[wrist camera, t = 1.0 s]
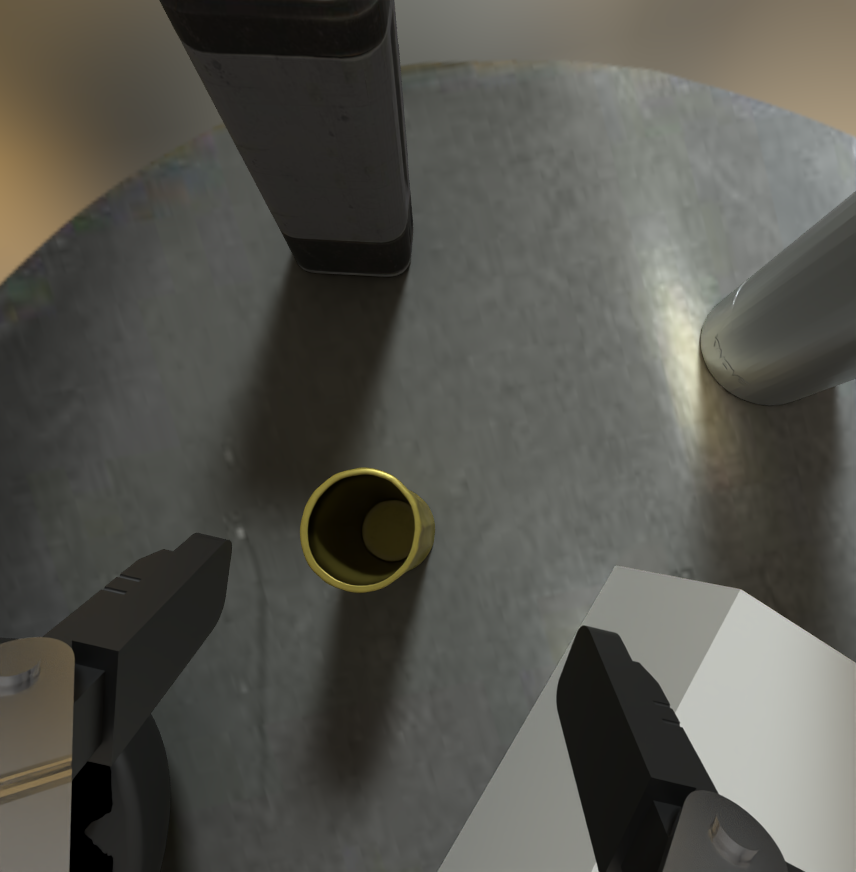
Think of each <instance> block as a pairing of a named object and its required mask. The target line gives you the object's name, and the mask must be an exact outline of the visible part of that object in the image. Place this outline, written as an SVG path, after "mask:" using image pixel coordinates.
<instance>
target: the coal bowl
mask: <svg viewBox="0 0 856 872" xmlns="http://www.w3.org/2000/svg"><path fill="white" fill-rule="evenodd" d="M12 640H17V639H13V638H0V644H2V643H5V642H8V641H12ZM170 802H171V798H170V777H169V769H168V761H167V757H166V752H165V748H164V744H163V741H162V738H161V735H160V732H159V730H158V727H157V725H156V723H155V720H154V718H153V717H152V715H151V714H150V715H149V716H148V718H147V719H146V720H145V722H144V723H143V724H142V726H141V727H140V728H139V730H138V731H137V733H136V734H135V735H134V737H133V738H132V739H131V741H130V742H129V743H128V745H127V746H126V747H125V749H124V750H123V751H122V753H121V754H120V755H119V757H118V758H117V759H116V761H115V762H114V763H113V765H112V766H107V765H103V764H98V763H94V762H90V761H87V762H86V764H85V765H84V766H83V767H82V769H81V770H80V771H79V772H78V773H77V775H76V776H75V777H74V778H73V780H72V787H71V824H70V862H69V872H160V870H161V866H162V861H163V857H164V852H165V848H166V841H167V834H168V827H169V820H170Z"/></svg>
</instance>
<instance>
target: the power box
mask: <svg viewBox="0 0 856 872" xmlns="http://www.w3.org/2000/svg"><path fill="white" fill-rule="evenodd" d="M583 625H585V626H590V627H594V628H598V629H602V630H606V631H611V632H615V633H617V634H618V635H619V636H620V637H621V639H622V641H623V643H624V645H625V647H626V649H627V651H628V653H629V655H630V657H631V659H632V661H636V662H639V663H640V664H641V665H642V666H643V667H644V668H645V669H646V670H647V671H648V672H649V673H650V674H651V675H652V677H653V678H654V679H655V680H656V681H657V682H658V683H659V685H660V687H661V689H662V690H663V692H664V694H665V696H666V698H667V700H668V701H669V703H670V708H671V709H673V711H674V712H675V714H676V716H677V718H678V720H679V722H680V727H683V729H684V731H685V733H686V734H687V736H688V738H689V740H690V742H691V744H692V745H693V747H694V749H695V751H696V753H697V755H698V756H699V758H700V760H701V762H702V764H703V766H704V767H705V769H706V771H707V773H708V775H709V777H710V778H711V780H712V782H713V784H714V786H715V788H716V790H717V791H718V793H719V795H722V796H724V797H726V798H728V799H730V800H731V801H733V802H734V803H736V804H737V805H739V806H740V807H742V808H743V809H744V810H746V811H747V812H748V813H749V814H750V815H752V816H753V817H754V818H755V819H756V820H757V821H758V822H759V823H760V824H761V825H762V826H763V827H764V828H765V830H766V831H767V832H768V833H769V834H770V836H771V837H772V838H773V840H774V841H775V843H776V844H777V846H778V847H779V849H780V851H781V853H782V855H783V857H784V859H785V861H786V862H788V863H790V864H791V865H793V866H795V867H797V868H799V869H801V870H803V871H805V872H856V663H855V662H854V661H852V660H850V659H849V658H847V657H846V656H844V655H843V654H841V653H840V652H838V651H836V650H835V649H833V648H832V647H830V646H829V645H827V644H825V643H824V642H822V641H821V640H819V639H818V638H816V637H815V636H813V635H811V634H810V633H808V632H807V631H805V630H804V629H802V628H800V627H799V626H797V625H796V624H794V623H793V622H791V621H790V620H788V619H786V618H785V617H783V616H782V615H780V614H779V613H777V612H776V611H774V610H772V609H771V608H769V607H768V606H766V605H765V604H763V603H761V602H760V601H758V600H757V599H755V598H754V597H752V596H751V595H749V594H747V593H746V592H744V591H743V590H741V589H737V588H732V587H727V586H721V585H716V584H711V583H706V582H700V581H695V580H690V579H684V578H679V577H674V576H669V575H663V574H658V573H653V572H648V571H642V570H637V569H632V568H627V567H621V566H616V565H615V567H614V569H613V570H612V572H611V574H610V576H609V577H608V579H607V581H606V582H605V584H604V586H603V588H602V589H601V591H600V593H599V594H598V596H597V598H596V600H595V601H594V603H593V605H592V607H591V608H590V610H589V612H588V613H587V615H586V617H585V619H584V620H583V622H582V624H581V625H580V627H581V626H583ZM580 627H579V628H580ZM576 633H577V632H576ZM575 636H576V634H575ZM575 636H574V638H573V639H572V641H571V643H570V644H569V646H568V648H567V650H566V651H565V653H564V655H563V656H562V658H561V660H560V662H559V663H558V665H557V667H556V668H555V670H554V672H553V674H552V675H551V677H550V679H549V681H548V682H547V684H546V686H545V687H544V689H543V691H542V693H541V694H540V696H539V698H538V699H537V701H536V703H535V705H534V706H533V708H532V710H531V712H530V713H529V715H528V717H527V718H526V720H525V722H524V724H523V725H522V727H521V729H520V730H519V732H518V734H517V736H516V737H515V739H514V741H513V742H512V744H511V746H510V748H509V749H508V751H507V753H506V755H505V756H504V758H503V760H502V761H501V763H500V765H499V767H498V768H497V770H496V772H495V773H494V775H493V777H492V779H491V780H490V782H489V784H488V786H487V787H486V789H485V791H484V792H483V794H482V796H481V798H480V799H479V801H478V803H477V804H476V806H475V808H474V810H473V811H472V813H471V815H470V816H469V818H468V820H467V822H466V823H465V825H464V827H463V829H462V830H461V832H460V834H459V835H458V837H457V839H456V841H455V842H454V844H453V846H452V847H451V849H450V851H449V853H448V854H447V856H446V858H445V860H444V861H443V863H442V865H441V866H440V868H439V870H438V872H599V871H598V867H597V863H596V859H595V855H594V851H593V848H592V844H591V840H590V836H589V832H588V828H587V824H586V820H585V816H584V813H583V809H582V805H581V801H580V797H579V793H578V789H577V785H576V781H575V778H574V774H573V770H572V766H571V762H570V758H569V754H568V750H567V746H566V743H565V739H564V735H563V731H562V727H561V723H560V719H559V715H558V711H557V704H556V694H557V686H558V681H559V678H560V675H561V673H562V670H563V668H564V665H565V662H566V660H567V657H568V654H569V652H570V649H571V646H572V644H573V641H574V639H575Z"/></svg>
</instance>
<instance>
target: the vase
mask: <svg viewBox="0 0 856 872" xmlns="http://www.w3.org/2000/svg"><path fill="white" fill-rule="evenodd" d="M434 535H435V523H434V518H433V515H432V513H431V510H430V508H429V506H428V505H427V504H426V503H425V501H423V500H422V499H421V498H420V497H419V496H418V495H417V494H415V493H414V492H412V491H409V490H408V489H407V488H406V487H405V486H404V485H403V484H402V483H401V482H400V481H399V480H398V479H397V478H395V477H394V476H392V475H391V474H389V473H386V472H384V471H381V470H377V469H373V468H356V469H351V470H347V471H343V472H339V473H337V474H335V475H333V476H332V477H330V478H329V479H328V480H326V481H325V482H324V483H323V484H322V485H321V486H319V487H318V488H317V489H316V490H315V491H314V492H313V494H312V495H311V497H310V498H309V500H308V502H307V504H306V506H305V509H304V513H303V516H302V521H301V525H300V539H301V545H302V550H303V553H304V556H305V558H306V561H307V563H308V565H309V566H310V568H311V569H312V570H313V571H314V572H315V573H316V574H317V575H318V576H319V577H320V578H321V579H322V580H323V581H325V582H326V583H328V584H329V585H331V586H334V587H336V588H339V589H342V590H345V591H348V592H353V593H365V592H371V591H376V590H379V589H382V588H384V587H386V586H388V585H389V584H391V583H392V582H394V581H395V580H396V579H398V578H399V577H400V576H402V575H403V574H404V573H405V572H407V571H409V570H412V569H413V568H415V567H416V566H418V565H419V564H420V563H421V562H422V561H423V560H424V559H425V558H426V556H427V555H428V553H429V552H430V550H431V548H432V545H433V542H434Z"/></svg>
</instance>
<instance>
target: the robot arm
mask: <svg viewBox="0 0 856 872" xmlns="http://www.w3.org/2000/svg"><path fill="white" fill-rule="evenodd" d="M701 350H702V354H703V357H704V361H705V363H706V365H707V367H708V369H709V371H710V373H711V374H712V375H713V376H714V378H715V379H716V380H717V381H718V383H719V384H720V385H722V386H723V387H724V388H725V389H726V390H727V391H729V392H730V393H732V394H734V395H735V396H737V397H739V398H741V399H743V400H746V401H749V402H752V403H755V404H762V405H782V404H785V403H789V402H793V401H796V400H798V399H801V398H804V397H807V396H809V395H812V394H815V393H817V392H820V391H823V390H826V389H828V388H831V387H834V386H837V385H840V384H843V383H845V382H848V381H851V380H853V379H856V191H855V192H854V193H853V194H852V195H850V196H849V197H848V198H847V199H845V200H844V201H843V202H842V203H841V204H839V205H838V206H837V207H836V208H834V209H833V210H832V211H831V212H830V213H828V214H827V215H826V216H825V217H823V218H822V219H821V220H820V221H819V222H817V223H816V224H815V225H814V226H812V227H811V228H810V229H809V230H807V231H806V232H805V233H804V234H803V235H801V236H800V237H799V238H798V239H796V240H795V241H794V242H793V243H792V244H790V245H789V246H788V247H787V248H785V249H784V250H783V251H782V252H781V253H779V254H778V255H777V256H776V257H774V258H773V259H772V260H771V261H770V262H768V263H767V264H766V265H765V266H763V267H762V268H761V269H760V270H759V271H757V272H756V273H755V274H754V275H752V276H751V277H750V278H748V279H747V280H746V281H745V282H744V283H742V284H741V285H740V286H739V287H738V288H736V289H735V290H734V291H733V292H732V293H730V294H729V295H728V296H727V297H725V298H724V299H723V300H722V301H721V302H719V303H718V304H717V305H716V306H715V307H714V308H713V309H712V310H711V312H710V313H709V314H708V316H707V318H706V320H705V322H704V324H703V328H702V333H701ZM231 553H232V543H231V541H230V540H226V539H222V538H217V537H213V536H209V535H205V534H200V533H195V534H193V535H192V536H190V537H189V538H188V539H187V540H186V541H185V542H184V543H182V544H181V545H180V546H179V547H178V548H177V549H176V550H174V551H169V550H165V549H163V550H160V551H158V552H155V553H153V554H151V555H148V556H146V557H143V558H141V559H139V560H137V561H136V562H135V563H134V564H132V565H131V566H130V567H129V568H127V569H126V570H125V571H124V572H122V573H121V574H120V577H116V578H115V579H114V580H112V581H111V582H110V583H109V584H108V585H106V586H105V588H104V590H100V591H99V592H98V593H96V594H95V595H94V596H93V597H91V598H90V599H89V600H88V601H86V602H85V603H84V604H83V605H81V606H80V607H79V608H78V609H76V610H75V611H74V612H73V613H71V614H70V615H69V616H68V617H67V618H65V619H64V620H63V621H62V622H60V623H59V624H58V625H57V626H55V627H54V628H53V629H52V630H50V631H49V632H48V633H47V634H45V635H44V636H43V637H30V638H22V639H17V640H12V641H8V642H5V643H2V644H0V872H69V862H70V824H71V787H72V780H73V778H74V777H75V776H76V775H77V773H78V772H79V771H80V770H81V769H82V767H83V766H84V765H85V764H86V762H87V761H90V762H94V763H98V764H103V765H107V766H112V765H113V763H114V762H115V761H116V759H117V758H118V757H119V755H120V754H121V753H122V751H123V750H124V749H125V747H126V746H127V745H128V743H129V742H130V741H131V739H132V738H133V737H134V735H135V734H136V733H137V731H138V730H139V728H140V727H141V726H142V724H143V723H144V722H145V720H146V719H147V718H148V716H149V715H150V714H151V712H152V711H153V710H154V708H155V707H156V706H157V704H158V703H159V702H160V700H161V699H162V698H163V696H164V695H165V693H166V692H167V691H168V689H169V688H170V687H171V685H172V684H173V683H174V681H175V680H176V679H177V677H178V676H179V675H180V673H181V672H182V671H183V669H184V668H185V667H186V665H187V664H188V663H189V661H190V660H191V658H192V657H193V656H194V654H195V653H196V652H197V650H198V649H199V648H200V646H201V645H202V644H203V642H204V641H205V640H206V638H207V637H208V636H209V634H210V633H211V632H212V630H213V629H214V627H215V626H216V624H217V622H218V620H219V618H220V615H221V613H222V610H223V607H224V603H225V597H226V590H227V582H228V575H229V568H230V560H231ZM556 704H557V711H558V715H559V719H560V723H561V727H562V731H563V735H564V739H565V743H566V746H567V750H568V754H569V758H570V762H571V766H572V770H573V774H574V778H575V781H576V785H577V789H578V793H579V797H580V801H581V805H582V809H583V813H584V816H585V820H586V824H587V828H588V832H589V836H590V840H591V844H592V848H593V851H594V855H595V859H596V863H597V867H598V871H599V872H805V871H803V870H801V869H799V868H797V867H795V866H793V865H791V864H790V863H788V862H786V861H785V859H784V857H783V855H782V853H781V851H780V849H779V847H778V846H777V844H776V843H775V841H774V840H773V838H772V837H771V836H770V834H769V833H768V832H767V831H766V830H765V828H764V827H763V826H762V825H761V824H760V823H759V822H758V821H757V820H756V819H755V818H754V817H753V816H752V815H750V814H749V813H748V812H747V811H746V810H744V809H743V808H742V807H740V806H739V805H737V804H736V803H734V802H733V801H731V800H730V799H728V798H726V797H724V796H722V795H719V793H718V791H717V790H716V788H715V786H714V784H713V782H712V780H711V778H710V777H709V775H708V773H707V771H706V769H705V767H704V766H703V764H702V762H701V760H700V758H699V756H698V755H697V753H696V751H695V749H694V747H693V745H692V744H691V742H690V740H689V738H688V736H687V734H686V733H685V731H684V729H683V727H680V722H679V720H678V718H677V716H676V714H675V712H674V711H673V709H671V708H670V703H669V701H668V700H667V698H666V696H665V694H664V692H663V690H662V689H661V687H660V685H659V683H658V682H657V681H656V680H655V679H654V678H653V677H652V675H651V674H650V673H649V672H648V671H647V670H646V669H645V668H644V667H643V666H642V665H641V664H640V663H639V662H636V661H632V659H631V657H630V655H629V653H628V651H627V649H626V647H625V645H624V643H623V641H622V639H621V637H620V636H619V635H618V634H617V633H615V632H611V631H606V630H602V629H598V628H594V627H590V626H585V625H583V626H581V627H580V628H579V629H578V631H577V633H576V636H575V639H574V641H573V644H572V646H571V649H570V652H569V654H568V657H567V660H566V662H565V665H564V668H563V670H562V673H561V675H560V678H559V681H558V686H557V694H556Z"/></svg>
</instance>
